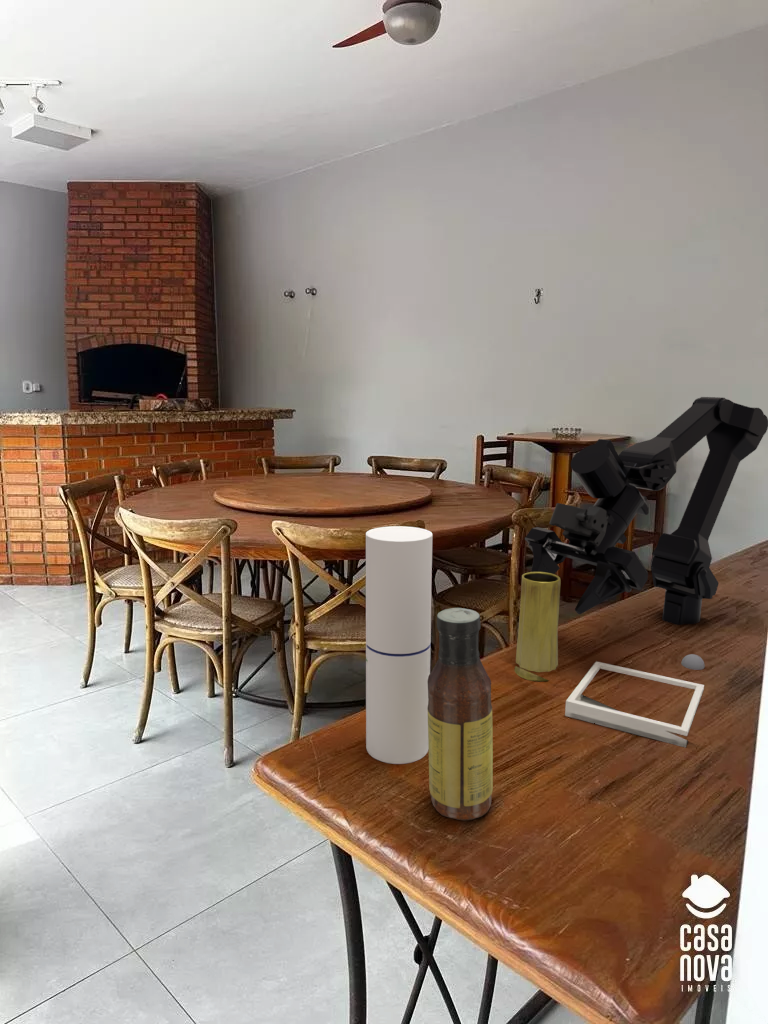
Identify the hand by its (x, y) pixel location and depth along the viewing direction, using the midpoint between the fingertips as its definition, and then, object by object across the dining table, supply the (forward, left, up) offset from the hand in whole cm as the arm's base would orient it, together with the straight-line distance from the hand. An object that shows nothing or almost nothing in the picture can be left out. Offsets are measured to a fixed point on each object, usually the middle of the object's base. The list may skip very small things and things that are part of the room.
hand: (551, 602), depth 97 cm
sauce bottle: (+32, +15, -10) cm, 37 cm away
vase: (+2, 0, -10) cm, 11 cm away
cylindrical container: (+30, +3, -10) cm, 32 cm away
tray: (0, +14, -10) cm, 17 cm away
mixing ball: (-15, +14, -8) cm, 22 cm away
